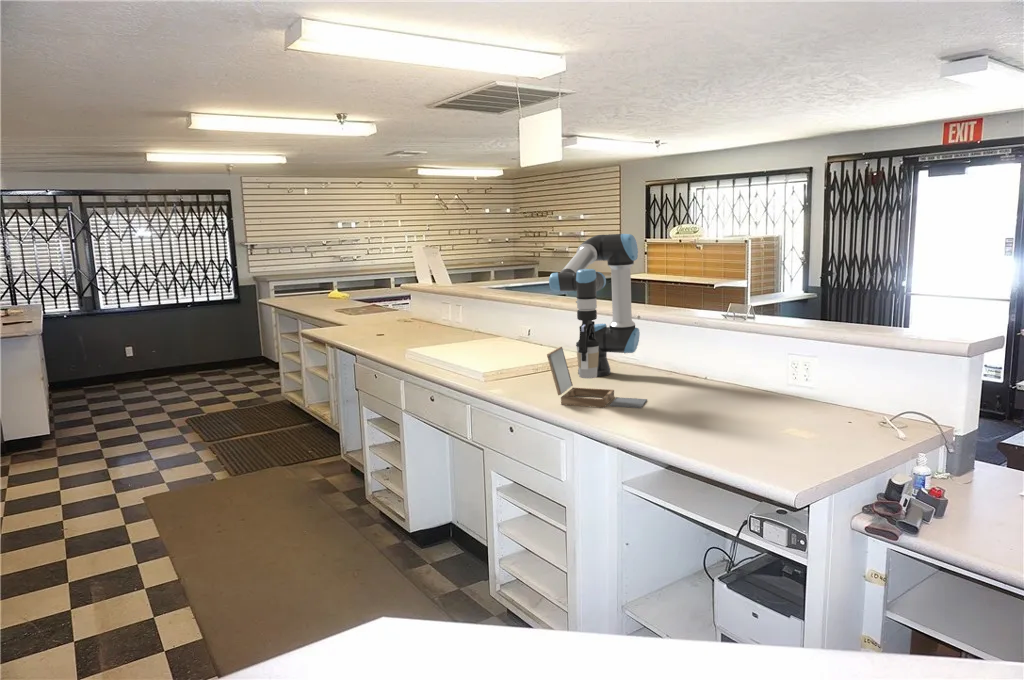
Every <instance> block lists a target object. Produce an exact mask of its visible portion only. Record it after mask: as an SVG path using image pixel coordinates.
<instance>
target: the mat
mask: <svg viewBox="0 0 1024 680" xmlns="http://www.w3.org/2000/svg"><path fill="white" fill-rule="evenodd" d="M614 398H615V399H614ZM614 398H613V399H612V401H611V403H610V404H609V407H614V408H615V407H619V408H631V409H642V408H643V407H644V405H645V404H646V403H647V401H648V399H647V398H635V397H634V398H633V397H621V396H620V397H617V396H616V397H614Z"/></svg>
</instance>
